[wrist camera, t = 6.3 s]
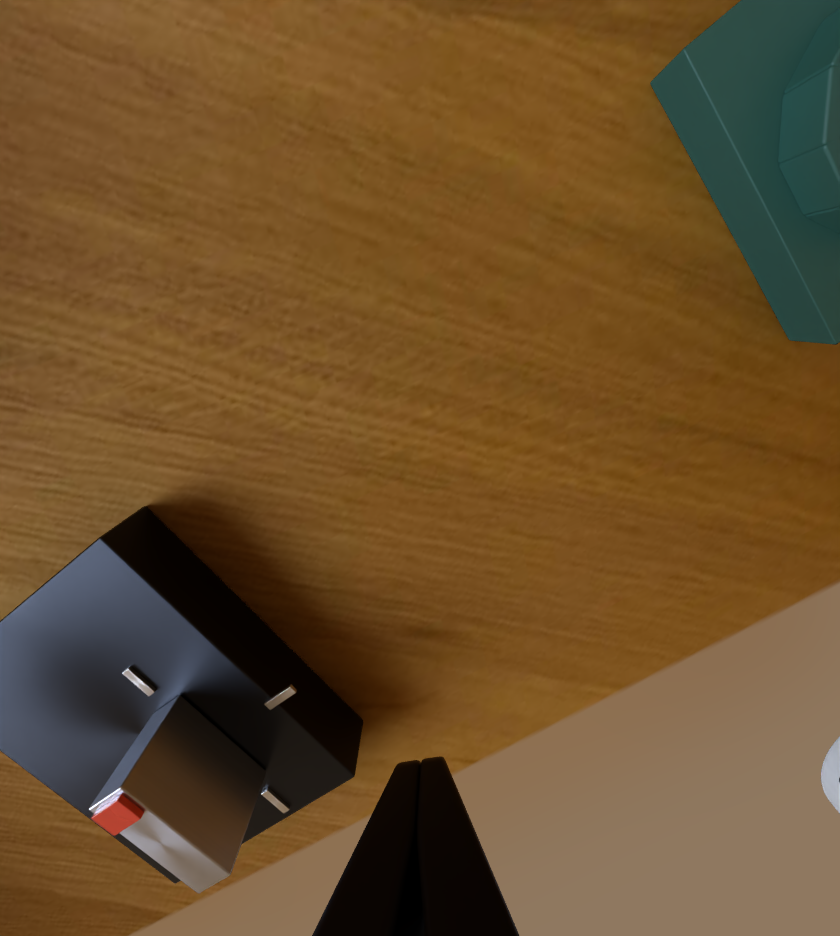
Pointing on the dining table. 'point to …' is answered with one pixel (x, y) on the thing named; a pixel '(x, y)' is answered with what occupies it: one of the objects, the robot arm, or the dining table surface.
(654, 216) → the dining table surface
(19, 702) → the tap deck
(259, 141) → the dining table surface
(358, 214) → the dining table surface
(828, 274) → the button block
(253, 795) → the grey rectangular block
